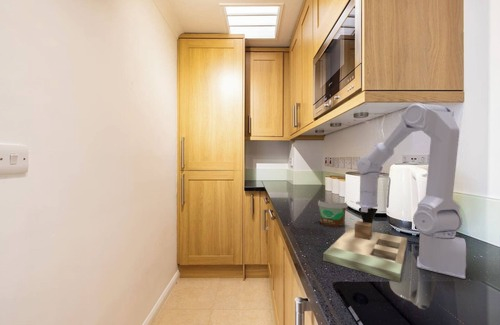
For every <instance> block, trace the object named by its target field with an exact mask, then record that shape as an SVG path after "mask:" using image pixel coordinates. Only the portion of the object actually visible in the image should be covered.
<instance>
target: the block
mask: <svg viewBox="0 0 500 325" xmlns="http://www.w3.org/2000/svg"><path fill="white" fill-rule="evenodd" d="M354 228H355V237H357V238H362V239H366V240H370V238H371V237H372V232H373V223H367V222H363V221H359V220H357V221H356V222H355V223H354Z"/></svg>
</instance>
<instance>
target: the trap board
mask: <svg viewBox="0 0 500 325" xmlns="http://www.w3.org/2000/svg"><path fill="white" fill-rule="evenodd" d="M407 247H408V237H403V236H398V235H397V236H396V235H392V234H387V233H382V232H376V231H372V237H371V238H370V240H366V239H362V238H357V237H355V227H349V229H347V230H346V231H345V232H344V233H343V234H342V235H341V236H340V237H339V238H338V239H337V240H336V241H335V242H334V243H332V244H331V246H330V247H329V248H327V249H326V250H325V251H324V252H323V254H322V255H323V256H322V257H323V258H322V259H323V260H322V261H324V262H328V263H331V264H334V265H337V266H342V267H344V268H349V269H351V270H356V271H359V272H362V273H365V274H369V275H373V276H376V277H380V278H383V279H386V280H387V279H388V280H390V281H394V282H398V283H400V281H401V278H402V277H401V276H402V272H403V268H404V267H403V266H404V261H405V257H406V251H407Z"/></svg>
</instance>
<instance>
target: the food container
mask: <svg viewBox="0 0 500 325" xmlns="http://www.w3.org/2000/svg"><path fill="white" fill-rule="evenodd" d="M317 205H318V207H319V218H320V223H321V225H323V226H325V225H326V227H331V228H340V227H343V226H344V225H345V216H346V209H347V208H348V203H347V202H343V203H342V202H341V203H339V202H335V201H321V199H319V200H318V201H317Z"/></svg>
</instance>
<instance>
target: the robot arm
mask: <svg viewBox="0 0 500 325" xmlns="http://www.w3.org/2000/svg"><path fill="white" fill-rule="evenodd" d="M454 113H455V111H454V110H452V109H451V108H449V107H448V106H446V105H443V104H429V103H428V104H427V103H421V102H413V103H411V104H410V105H409V106H408V107H406V109H405V110H404V112H403V113H402V114H401V116H400V121H399V122H398V124H397V125H396V126H395V127H394V129H393V130H392V131H391V133H390V134H389V135H388V137H387V138H386V139H385V141H383V142H379V143H375V145H374V148H372V150H371V151H370V152H369V153H368V154H367V155H366V156H365V157H360V158H359V159H358V160H357V163H356V169H357V172H358V173H359V175H360V176H359V201H355V204H356V205H359V208H358V212H359V214H360V217H361V220H362V222H367V223H372V224H373V223H374V218H375V215H376V213H377V212H378V208H377V207H378V205H379V204H378V191H379V190H378V186H379V182H378V181H379V178H380V173H381V172H382V171H383V165H384V164H385V163H387V161H388V160H389V159H390V158H392V156H394V154H395V148H396V147H398V146H399V144H401V143H402V142H403V141H404V140H405V139H406V138H408V137H409V135H410V134H412V133H415V132H423V133H424V134H425V135H427V136H428V137H429V138H430V146H429V153H428V154H429V155H428V156H429V157H428V168H427V175H426V176H427V177H426V186H425V196H424V197H423V198H422V199H421V200H420V201H419V202H418V204H417V209H416V211H415V212H414V214H413V216H412V217H413V218H412V219H413V224H414V226H415V227H416V229H417V232H418V233H419V246H418V248H419V250H418V255H417V258H416V267H417V268H418V269H421V270H427V271H431V272H434V273H438V274H441V275H442V274H443V275H447V276H451V277H455V278H459V279H464V280H465V279H466V269H467V243H466V239H465V238H463V237H458V236H456V235H457V231H459V230H460V229H461V228H462V227H463V226H462V225H463V219H462V218H463V217H462V216H461V213H460V208H461V206H460V204H458V202H456V201H454V199H453V198H454V197H453V195H454V187H455V177H456V169H457V168H456V167H457V159H458V158H457V157H458V150H459V141H460V140H459V139H460V128H459V126H458V124H457V121H456V119H455V118H454Z"/></svg>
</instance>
